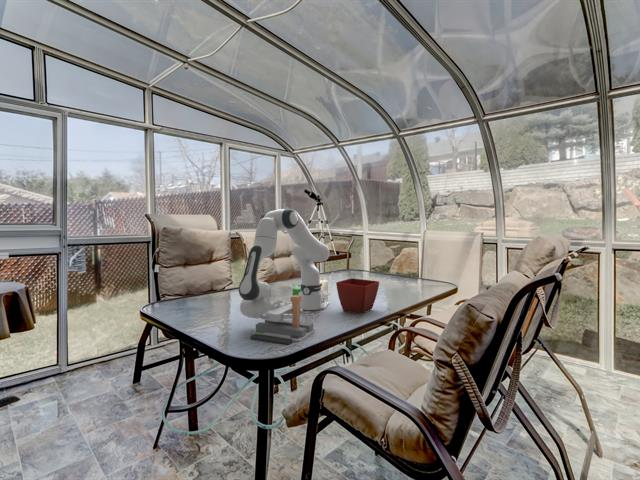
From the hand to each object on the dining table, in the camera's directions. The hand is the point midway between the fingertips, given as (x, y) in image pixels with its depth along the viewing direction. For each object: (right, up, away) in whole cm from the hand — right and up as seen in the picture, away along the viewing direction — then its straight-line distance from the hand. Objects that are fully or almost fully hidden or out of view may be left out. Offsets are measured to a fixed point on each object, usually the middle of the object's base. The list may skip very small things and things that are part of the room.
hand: (297, 313), depth 159 cm
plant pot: (+32, -7, +43) cm, 55 cm away
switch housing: (-6, -9, +3) cm, 12 cm away
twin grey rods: (-11, -10, -8) cm, 17 cm away
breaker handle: (-1, -8, +1) cm, 8 cm away
